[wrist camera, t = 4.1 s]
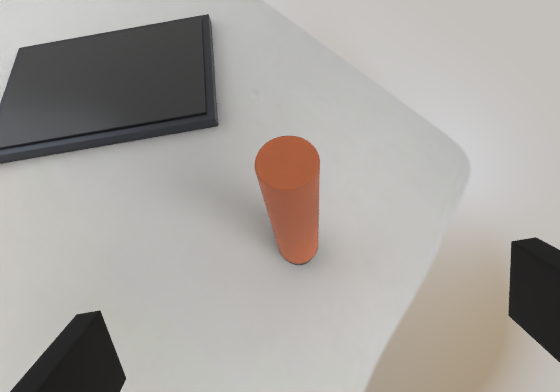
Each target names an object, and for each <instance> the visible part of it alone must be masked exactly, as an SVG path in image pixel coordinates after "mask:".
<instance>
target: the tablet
mask: <svg viewBox="0 0 560 392" xmlns="http://www.w3.org/2000/svg"><path fill="white" fill-rule="evenodd" d="M215 126H218V118H217V103H216V88H215V73H214V58H213V43H212V28H211V20H210V17H209V14H207V15H202V16H196V17H190V18H185V19H179V20H174V21H168V22H162V23H157V24H151V25H146V26H140V27H134V28H129V29H123V30H117V31H112V32H106V33H101V34H95V35H89V36H84V37H78V38H73V39H67V40H61V41H56V42H50V43H45V44H39V45H33V46H28V47H22V48H19V50H18V53H17V56H16V59H15V62H14V65H13V68H12V71H11V74H10V77H9V80H8V83H7V86H6V88H5V91H4V94H3V97H2V100H1V103H0V163H6V162H12V161H17V160H23V159H29V158H35V157H41V156H46V155H52V154H58V153H64V152H70V151H75V150H81V149H87V148H93V147H99V146H104V145H110V144H116V143H122V142H128V141H133V140H139V139H145V138H151V137H157V136H162V135H168V134H174V133H180V132H186V131H191V130H197V129H203V128H209V127H215Z"/></svg>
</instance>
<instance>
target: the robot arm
mask: <svg viewBox="0 0 560 392" xmlns="http://www.w3.org/2000/svg"><path fill="white" fill-rule="evenodd" d="M509 316H510V317H511V318H512V319H513V320H514V321H515V322H516V323H517V324H518V325H520V326H521V327H522V328H523V329H524V330H525V331H526V332H527V333H528V334H529V335H530V336H532V338H534V339H535V340H536V341H537V342H538V343H539V344H540V345H541V346H542V347H543V348H545V349H546V350H547V351H548V352H549V353H550V354H551V355H552V356H553V357H554V358H555V359H557V360H558V361H559V362H560V250H558V249H557V248H555V247H553V246H551V245H549V244H547V243H545V242H543V241H542V240H539V239H538V238H530V239H524V240H518V241H512V243H511V267H510V292H509ZM125 380H126V377H125V374H124V371H123V369H122V366H121V363H120V361H119V358H118V356H117V353H116V350H115V348H114V345H113V343H112V340H111V337H110V335H109V332H108V330H107V327H106V324H105V322H104V319H103V316H102V314H101V311H95V312H89V313H83V314H77V315H76V316H75V317H74V318H73V319H72V321H71V322H70V323H69V324H68V325H67V326H66V327H65V329H64V330H63V331H62V332H61V333H60V334H59V336H58V337H57V338H56V339H55V340H54V341H53V343H52V344H51V345H50V346H49V347H48V348H47V350H46V351H45V352H44V353H43V354H42V355H41V356H40V358H39V359H38V360H37V361H36V362H35V363H34V365H33V366H32V367H31V368H30V369H29V370H28V372H27V373H26V374H25V375H24V376H23V377H22V379H21V380H20V381H19V382H18V383H17V384H16V385H15V387H14V388H13V389H12V390H11V391H10V392H120V390H121V388H122V386H123V384H124V382H125Z"/></svg>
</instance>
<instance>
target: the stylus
mask: <svg viewBox="0 0 560 392" xmlns="http://www.w3.org/2000/svg"><path fill="white" fill-rule="evenodd" d="M255 171H256V175H257V178H258V181H259V185H260V188H261V191H262V195H263V198H264V201H265V205H266V208H267V211H268V214H269V218H270V221H271V224H272V228H273V231H274V234H275V238H276V241H277V244H278V248H279V251H280V253H281V255H282V256H283V257H284V258H285V259H286V260H287V261H289V262H290V263H292V264H295V265H302V264H305V263H307V262H309V261H310V260H311V259H312V258H313V257H314V255H315V254H316V252H317V249H318V220H319V171H320V160H319V155H318V153H317V151H316V149H315V148H314V146H313V145H312V144H311V143H309V142H308V141H306V140H305V139H303V138H300V137H296V136H281V137H277V138H274V139H272V140H270V141H269V142H267V143H266V144H265V145H264V146H263V147H262V148H261V149H260V150H259V152H258V154H257V156H256V159H255Z"/></svg>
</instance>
